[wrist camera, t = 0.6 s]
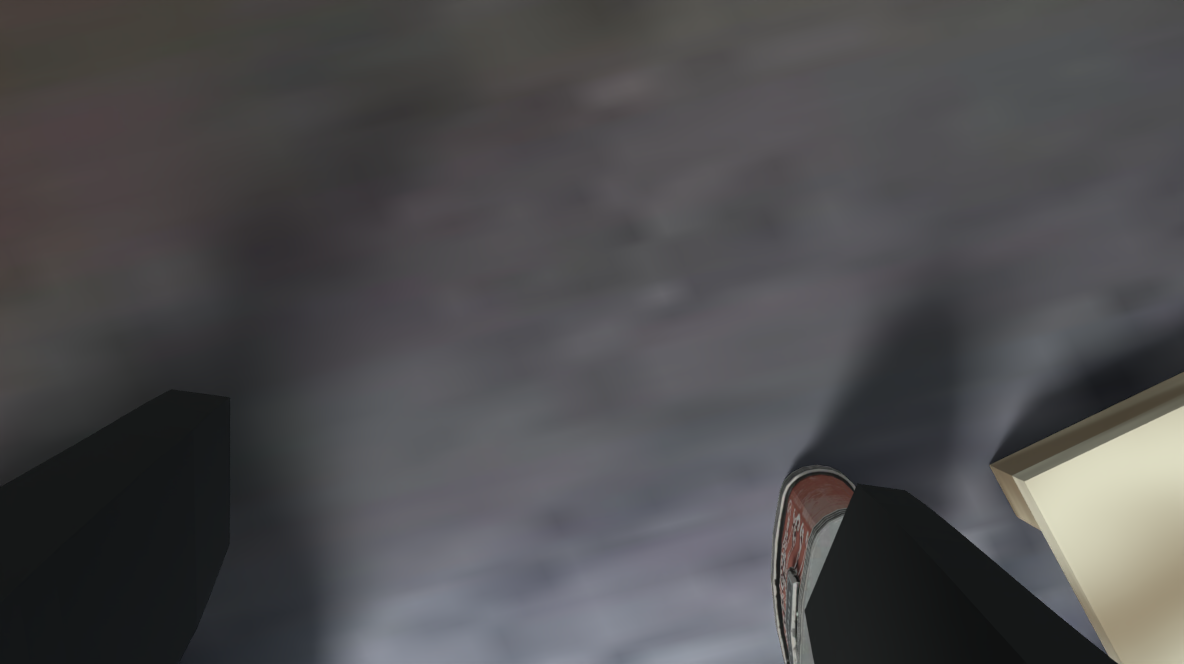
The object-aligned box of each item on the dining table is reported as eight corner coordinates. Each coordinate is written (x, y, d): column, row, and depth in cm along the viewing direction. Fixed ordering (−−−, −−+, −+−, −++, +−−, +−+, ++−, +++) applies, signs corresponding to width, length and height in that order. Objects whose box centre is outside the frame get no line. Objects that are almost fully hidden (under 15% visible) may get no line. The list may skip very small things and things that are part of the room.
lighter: (767, 465, 30) (810, 537, 20) (865, 464, 29) (958, 536, 20) (774, 690, 30) (820, 873, 20) (871, 691, 30) (967, 879, 20)
